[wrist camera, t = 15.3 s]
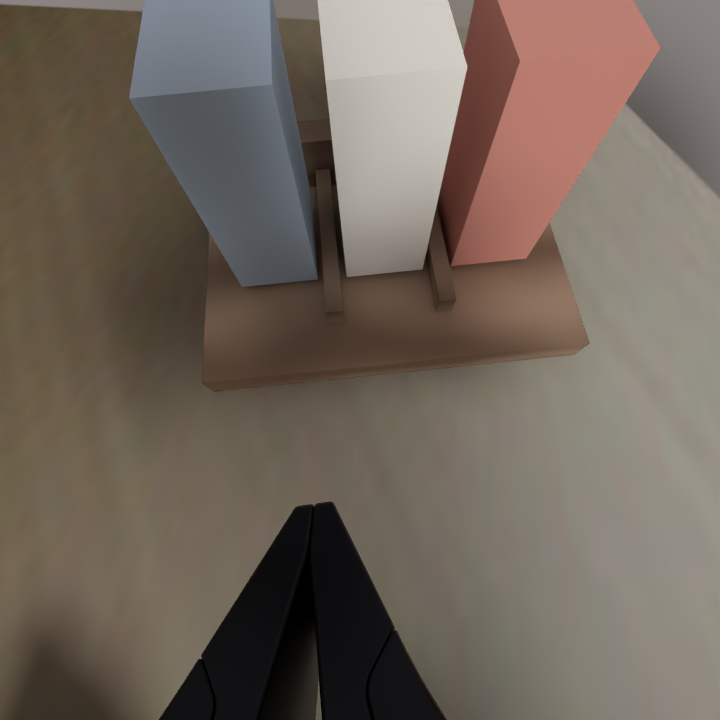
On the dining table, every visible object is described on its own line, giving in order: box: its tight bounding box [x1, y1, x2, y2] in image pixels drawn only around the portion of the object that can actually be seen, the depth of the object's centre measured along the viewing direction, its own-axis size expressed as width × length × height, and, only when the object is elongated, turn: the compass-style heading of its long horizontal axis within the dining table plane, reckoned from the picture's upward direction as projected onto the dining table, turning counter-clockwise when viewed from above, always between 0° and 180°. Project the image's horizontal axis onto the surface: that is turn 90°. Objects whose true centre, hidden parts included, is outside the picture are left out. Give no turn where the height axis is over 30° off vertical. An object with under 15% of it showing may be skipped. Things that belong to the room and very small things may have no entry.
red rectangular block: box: [437, 0, 660, 266], centre depth 16 cm, size 5×4×10 cm
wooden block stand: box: [202, 119, 590, 391], centre depth 20 cm, size 13×19×4 cm
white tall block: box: [318, 0, 467, 277], centre depth 16 cm, size 5×4×10 cm
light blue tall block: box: [129, 0, 318, 287], centre depth 16 cm, size 5×4×10 cm
